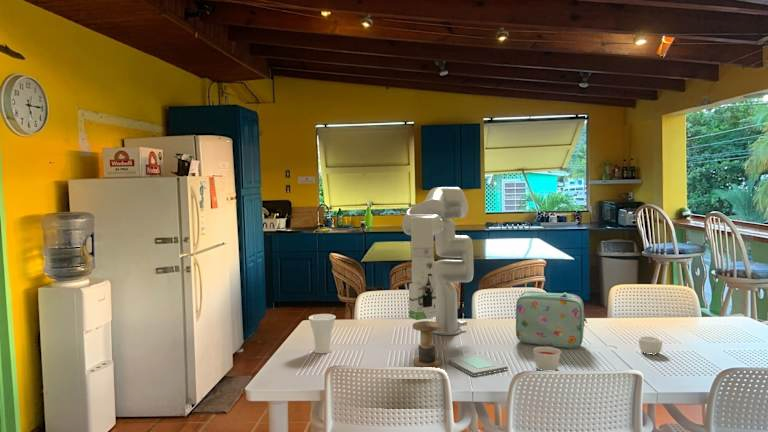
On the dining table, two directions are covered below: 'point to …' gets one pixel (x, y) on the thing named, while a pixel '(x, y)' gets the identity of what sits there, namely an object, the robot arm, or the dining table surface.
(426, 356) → the bobbin
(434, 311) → the ink box
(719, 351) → the dining table surface
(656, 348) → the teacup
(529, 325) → the lunch box
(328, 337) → the cup
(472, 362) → the board
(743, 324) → the dining table surface
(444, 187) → the robot arm
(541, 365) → the candle
